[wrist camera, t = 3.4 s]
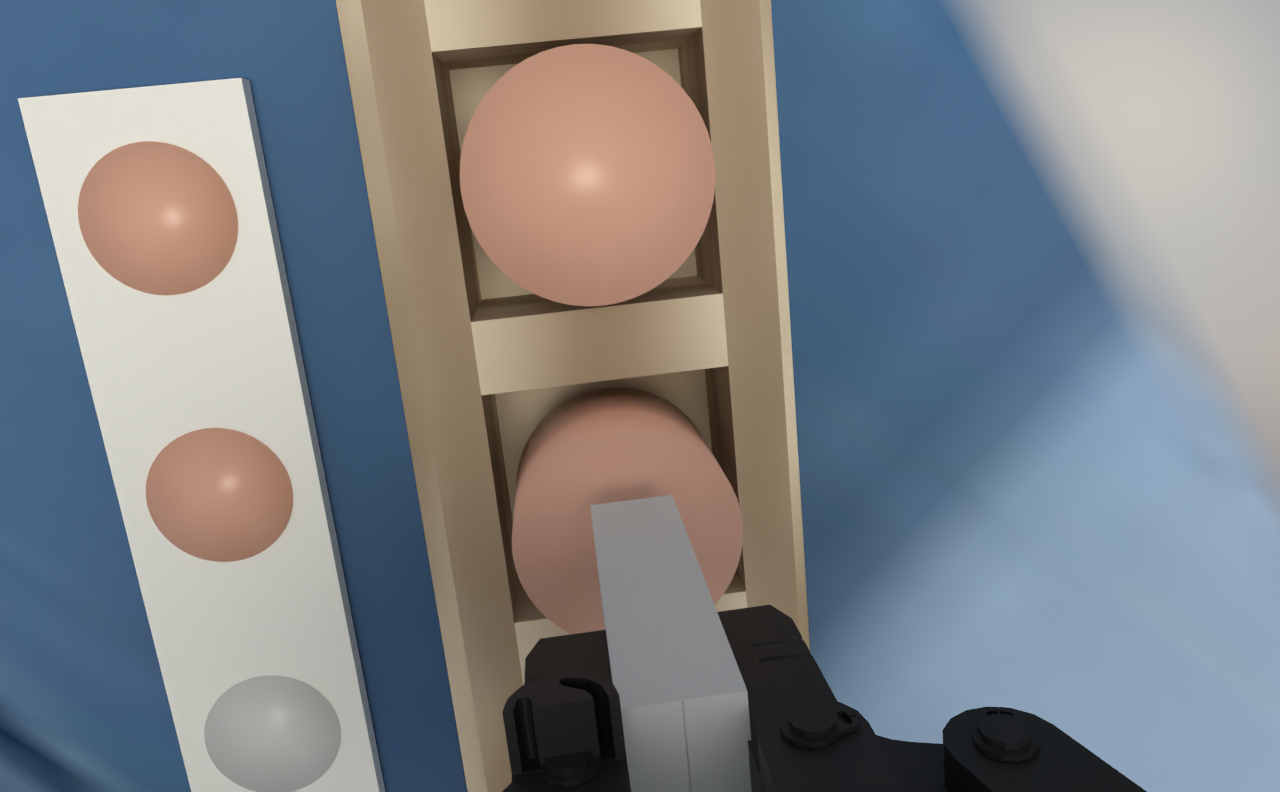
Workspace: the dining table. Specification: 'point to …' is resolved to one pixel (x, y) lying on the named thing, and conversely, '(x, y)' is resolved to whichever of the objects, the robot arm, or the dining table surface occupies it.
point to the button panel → (570, 310)
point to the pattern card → (208, 428)
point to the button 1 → (587, 175)
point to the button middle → (613, 496)
